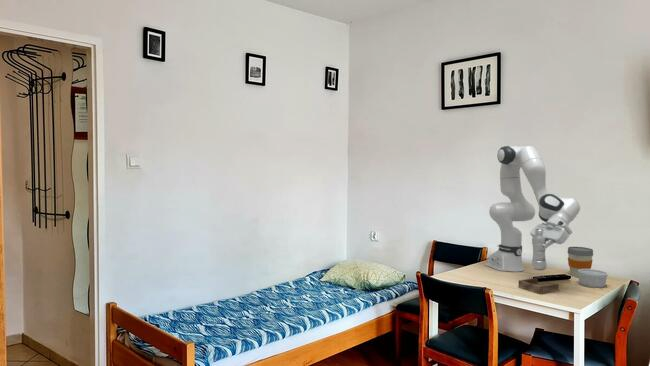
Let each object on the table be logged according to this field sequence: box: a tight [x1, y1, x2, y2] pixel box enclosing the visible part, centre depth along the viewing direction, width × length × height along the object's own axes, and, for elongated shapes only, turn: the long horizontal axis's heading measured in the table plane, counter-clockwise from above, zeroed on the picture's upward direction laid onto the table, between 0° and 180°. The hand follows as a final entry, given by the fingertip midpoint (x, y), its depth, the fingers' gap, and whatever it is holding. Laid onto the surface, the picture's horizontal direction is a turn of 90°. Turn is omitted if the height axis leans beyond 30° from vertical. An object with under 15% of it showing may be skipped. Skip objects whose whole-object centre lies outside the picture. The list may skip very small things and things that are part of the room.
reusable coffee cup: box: [567, 246, 594, 278], centre depth 256 cm, size 13×13×15 cm
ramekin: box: [578, 268, 609, 289], centre depth 238 cm, size 13×13×7 cm
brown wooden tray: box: [518, 277, 560, 295], centre depth 230 cm, size 13×13×4 cm
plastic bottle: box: [531, 229, 548, 271], centre depth 229 cm, size 6×7×20 cm
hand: (538, 246), depth 229 cm, fingers closed on plastic bottle, 6 cm apart
